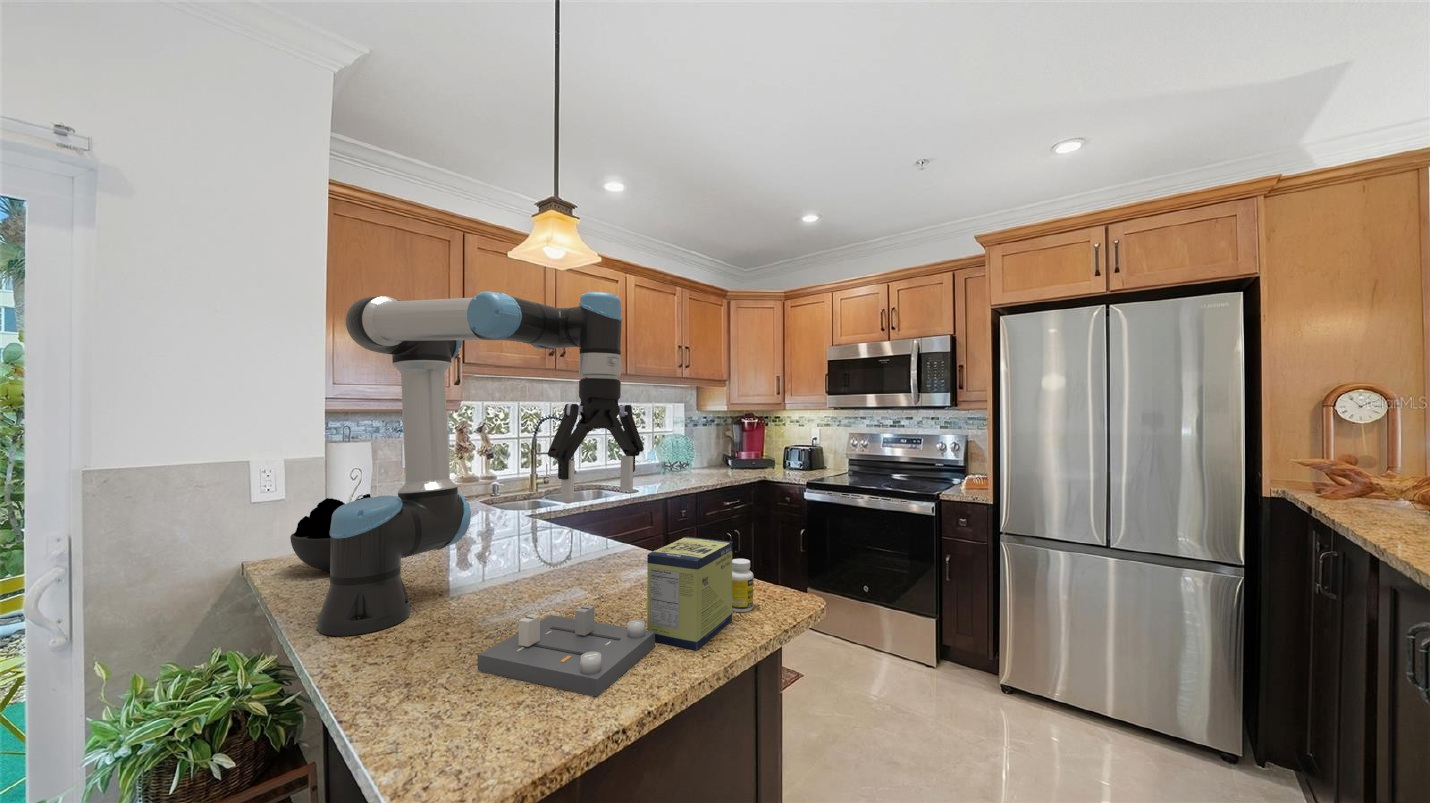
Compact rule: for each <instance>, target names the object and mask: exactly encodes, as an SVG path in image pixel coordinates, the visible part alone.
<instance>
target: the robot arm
mask: <svg viewBox="0 0 1430 803" xmlns="http://www.w3.org/2000/svg"><path fill="white" fill-rule="evenodd" d="M578 304H579V306H573V307H554V306H551V305H547V304H542V303H539V302H534V301H530V300H527V299H523V298H519V297H515V296H512V295H508V294H506V293H503V292H493V291H488V290H487V291H485V290H484V291H481V292H478V294H477V295H475V296H473V297H458V298H437V299H436V298H435V299H419V300H418V299H415V300H399V299H396V298H394V297H390V296H367V297H363V298H361V299H358V300H356V301H355V302H354V303H353V304H352V305H351V306H350V307H349V308H348V310H347V312H346V316H345V328H346V331H347V333H348V335H349V336H350V338H351V339H352V340H353V341H354V343H356V344H357V345H359V346H360V347H362V348H363V349H365V350H369V351H370V352H374V353H378V354H386V355H391V358H392V361H391V362H392V366H393V367H394V368H395V369H396V370H397V371H398V372H399V373H400V378H401V379H400V380H401V404H402V406H401V407H402V426H403V427H402V429H403V451H404V454H403V455H404V473H405V474H404V475H405V476H404V477H405V478H404V479H405V482H404V484H403V485H402V486H401V487H400V489H399V490H398V491H397V495H378V496H373V497H370V498H365V499H360V498H359V499H360V500H356V499H355V500H356V501H355V500H353V501H350V502H347V503H345V504H344V505H342V506H340V507H338V508H337V509H336V510H335V511H334V513H333V515H332V520H331V528H330V532H329V533H330V536H331V546H330V571H329V572H330V573H329V588H328V590H327V592H326V595H325V599H324V601H323V604H322V606H321V610H320V613H319V614H318V618H317V631H318V632H319V633H321V634H323V635H327V636H333V637H334V636H335V637H336V636H338V637H340V636H346V637H347V636H355V635H362V634H368V633H373V632H377V631H381V630H384V629H388V628H391V627H393V626H396V625H398V624H400V623H401V622H404V621H405V620H406V619H408V618H409V617H410V616H411V601H410V599H409V596H408V593H407V590H406V587H405V584H404V582H403V579H402V574H401V568H402V567H401V566H402V565H401V564H402V559H405V558H408V557H411V556H415V555H420V554H423V553H427V552H431V551H439V550H443V549H445V548H446V547H449V546H453V545H455V544H457V543H458V542H460V541H461V540H462V539H463V537H464V536H465V535H466V534H467V532H468V530H469V528H470V524H471V518H472V511H471V506H470V503H469V502H468V501H467V500H468V499H467V498H466V497H465V496H464V495H463V494H462V493H459V491H458V490H459V488H458V484H456V482H454V481H452V480H451V478H450V460H449V458H450V456H449V455H450V454H449V439H448V438H449V435H448V434H449V433H448V418H447V417H448V416H447V394H446V371H447V370H449V369H450V368H451V367H452V364H453V363H452V360H453V359H454V358H456V357H457V356H458V354H459V353H460V349H461V348H462V346H463V341H509V342H516V343H524V344H529V345H531V346H532V347H533V348H536V349H544V350H545V349H546V350H555V349H567V348H578V349H579V357H578V358H579V359H578V362H579V363H578V364H579V365H578V366H579V367H578V375H579V376H580V377H581V379H579V380H578V397H579V399H580V404H579V405H578V403H565V404H564V409H563V416H562V420H561V421H560V424H559V426H558V427H557V430H556V433H555V435H554V437H553V440H552V442H551V444H550V445H549V449H548V451H547V456H548V457H549V458H553V459H554V460H555V461H556V460H557V465H558V466H557V478H558V480H560V498H561V499H567V500H574V499H575V464H576V463H575V460H572V457H573V456H574V455H575V453H576V451H577V450H578V448H579V447H580V446H581V444H582V443H583V442H584V440H585V438H586V437H587V435H588V434H589V432H591V431H593V430H600V429H605V430H607V431H609V433H610V434H611V435H612V438H613V439H614V440H615V442H616V444H618V446H619V448H620V449H621V451H622V452H623V454H624V455H620V484H619V486H620V489H619V490H622V491H623V490H624V491H633V489H634V472H635V471H636V457H638V456H640V453H641V452H642V453H643V452H644V450H645V448H644V444H643V442H642V438H641V437H640V434H639V431H638V428H637V424H636V422H635V420H634V417H633V406H632V405H631V404H620V405H619V400H620V399H621V396H622V395H621V394H622V393H621V392H622V383H621V381H620V379H618V378H619V377H621V375H622V372H621V371H622V355H621V353H622V349H621V346H622V340H621V339H622V327H623V326H622V325H623V324H622V323H623V316H622V301H621V299H620V297H619V296H617V295H616V294H613V293H611V292H604V291H588V292H586V293H583V294H581V296H580V299H579V303H578ZM579 416H581V418H580V419H579V420H578V417H579ZM618 417H619V418H618ZM577 420H578V422H577ZM574 427H575V429H574Z"/></svg>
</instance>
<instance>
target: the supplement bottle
mask: <svg viewBox="0 0 1430 803" xmlns="http://www.w3.org/2000/svg"><path fill="white" fill-rule="evenodd" d="M750 568H751V560H749V559H746V558H732V612H736V613H746V612H751V611H752V610H753V608H754V573H753V572H752V571H751V570H750Z"/></svg>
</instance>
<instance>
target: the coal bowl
mask: <svg viewBox="0 0 1430 803" xmlns="http://www.w3.org/2000/svg"><path fill="white" fill-rule="evenodd" d="M370 497H371V494H370V493H367V494H364V495H363V496H362V497H360V498H357V499H354V501H356V500H360V499H365V498H370ZM371 498H372V497H371ZM344 504H346V503H345V502H343V501H341V500H340V499H335V498H333V497H331V498H329V497H327V498H325V499H323V500H321V501H320V502H318V504H317V505H316V507H315V508H313V509H312V510H311V511H310V512H309V516H308V515H305V516H303V517H302V518H301V519H300V520H299V521H298V523H297V526H296V529H295V531H294V532H293V533H291V535H290V538H289V539H290V544H291V547H292V550H293V551H294V554H295V555H296V557H298V558H299V560H301V562H303V563H304V564H306V565H307V566H309V567H311V568H314V569H316V570H321V571H329V572H330V546H331V536H330V533H329V532H330V528H331V520H332V515H333V513H334V511H335V510H336V509H337V508H338V507H340V506H342V505H344Z"/></svg>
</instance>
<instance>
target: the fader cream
mask: <svg viewBox="0 0 1430 803" xmlns="http://www.w3.org/2000/svg"><path fill="white" fill-rule="evenodd" d="M540 621H541V616H540V615H537V614H531V613H530V614H528V615H525V616H524V617H522V618H520V619H519V620H518V633H519V643H518V645H521V646H526V647H529V646H531V645H532V644H534V643H536V642H537V641H539V640H540Z"/></svg>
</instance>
